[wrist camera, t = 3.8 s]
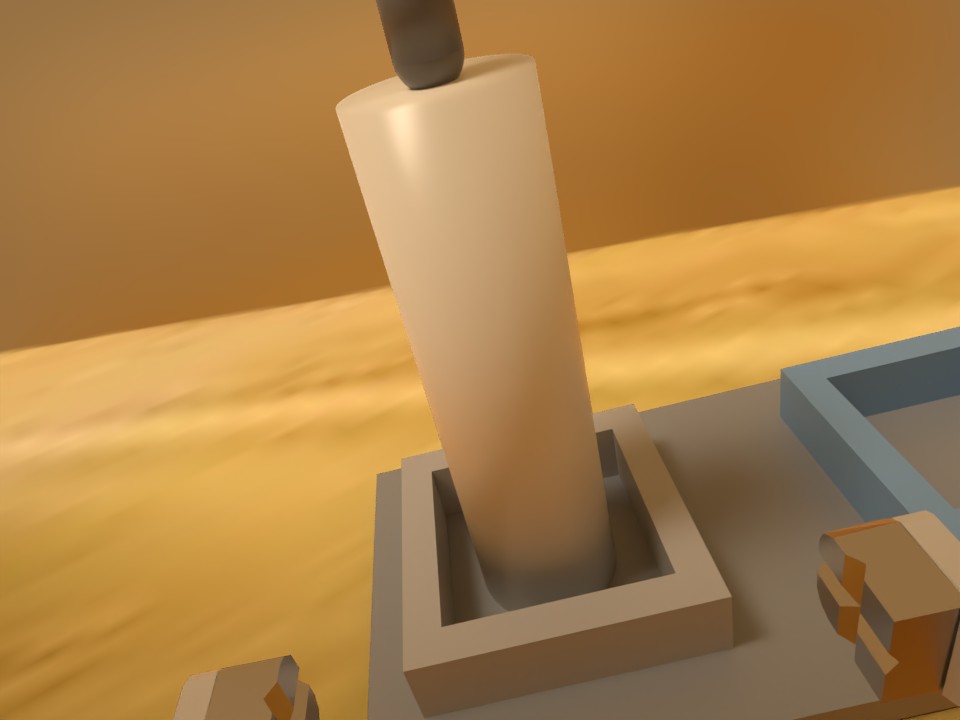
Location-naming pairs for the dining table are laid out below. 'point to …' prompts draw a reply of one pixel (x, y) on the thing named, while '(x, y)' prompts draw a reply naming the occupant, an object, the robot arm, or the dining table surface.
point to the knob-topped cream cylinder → (486, 298)
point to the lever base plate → (680, 557)
